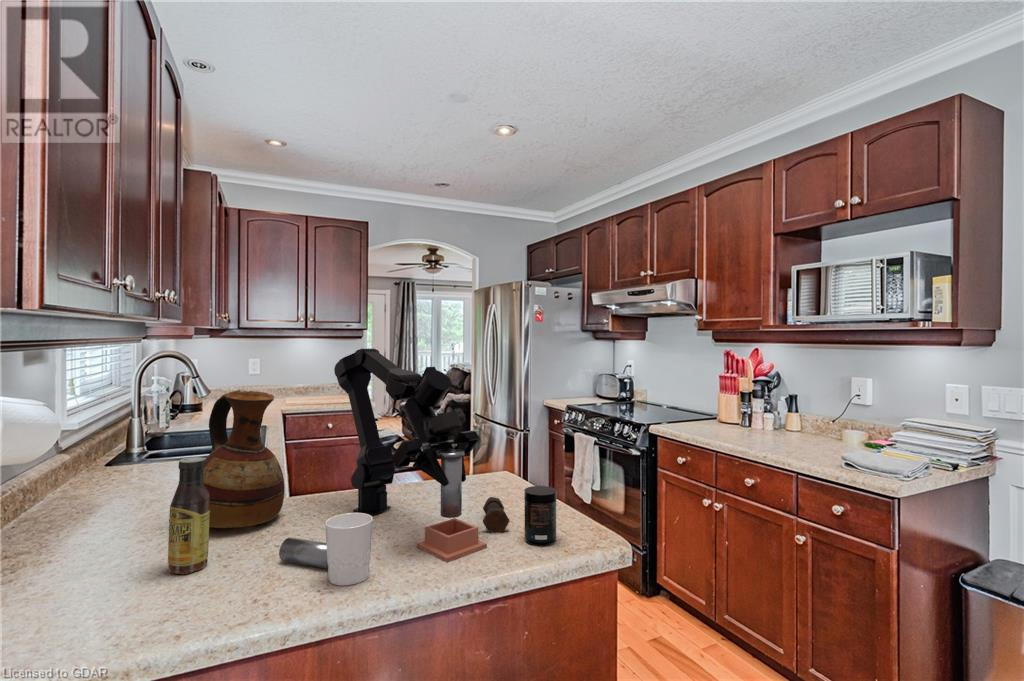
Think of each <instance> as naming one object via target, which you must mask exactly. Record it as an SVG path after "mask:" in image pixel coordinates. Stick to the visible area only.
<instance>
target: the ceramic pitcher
mask: <svg viewBox="0 0 1024 681" xmlns="http://www.w3.org/2000/svg"><path fill="white" fill-rule="evenodd" d="M274 400H275V396H274V395H273V394H270V393H267V392H264V391H253V390H248V391H247V390H242V391H241V390H234V391H230V392H227V393H224V394H222V395H221V396H220V397H219V398H217V400H216V401H215V402H214V404H213V406H212V409H211V413H210V415H209V420H208V431H209V438H210V441H211V442H210V443H211V453H209V455H208V456H206V458H204V459H205V466H204V468H203V479H204V481H203V483H204V486H205V488H206V489H207V490H208V492H209V494H210V502H209V508H210V519H209V528H219V529H234V528H246V527H251V526H252V527H253V526H256V525H259V524H263V523H264V524H265V523H267V522H270V521H271V520H273V519H274V518H275V517H277V515H279V514H280V512H281V510H282V508H283V504H284V498H285V479H284V473H283V469H282V467H281V464H280V462H279V459H278V458H277V456H276V455H275V454H274V453H273V452H272V451H271V450H270V449H269V448H267V447H266V446H265V445H264V444H263V442H262V437H261V428H262V424H263V419H264V418H263V417H264V414H265V411H266V409H267V408H268V406H269V405H271V403H272V402H274ZM231 409H232V416H233V419H232V420H233V423H232V429H231V431H230V435H229V436H228V433H227V425H228V423H227V421H228V417H229V413H230V410H231Z"/></svg>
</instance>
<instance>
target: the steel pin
mask: <svg viewBox="0 0 1024 681" xmlns="http://www.w3.org/2000/svg"><path fill="white" fill-rule="evenodd" d="M437 453H438V456H439V457H440V466H441V468H442V470H443V472H444V474H445V476H446V479H447V482H448V484H447V485H446V486H443V485H441V484H440V517H442V518H446V519H454V518H456V519H457V518H459V517H461V516H462V515H463V514H462V513H463V512H462V511H463V509H462V508H463V507H462V506H463V505H462V503H463V501H462V500H463V499H462V496H463V493H462V492H463V487H462V486H463V484H462V483H463V482H462V456H464V457H465V456H466V455H465V451H464V450H460V449H444V450H440V451H439V452H437Z"/></svg>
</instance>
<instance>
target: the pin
mask: <svg viewBox="0 0 1024 681" xmlns="http://www.w3.org/2000/svg"><path fill="white" fill-rule="evenodd" d="M278 556H279V559H280V561H282V562H288V563H292V564H297V565H303V566H308V567H314V568H321V569H325V568H326V569H327V570H328V562H327V548H326V542H321V541H315V540H308V539H303V538H296V537H287V538H285V540H283V542H282V543H281V545H280V548H279V552H278Z"/></svg>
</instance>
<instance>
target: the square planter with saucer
mask: <svg viewBox="0 0 1024 681" xmlns="http://www.w3.org/2000/svg"><path fill="white" fill-rule="evenodd" d="M487 545H488V543H486V542H485V541H482V540H479V526H475V525H473V524H470V523H468V522H465V521H463V520H461V519H458V518H457V517H456V518H450V519H448V520H444V521H441V522H437V523H434V524H431V525H428V526H425V527H424V540H422V541H418V542H416V546H417V547H418V549H419V548H420V550H421V549H422V550H421V551H423V550H425V551H426V553H427V552H428V553H427V554H429V553H430V554H429V555H431V554H432V556H433V555H434V556H433V557H435V556H436V557H435V558H437V557H438V558H437V559H439V558H440V559H439V560H441V559H442V560H441V561H443V560H444V561H443V562H445V561H446V562H445V563H449V562H452V561H454V559H455V560H457V559H460V558H462V557H466V556H467V555H470V554H472V553H475V552H479V551H481V550H483V549H484V550H485V549H487V548H488V546H487ZM416 546H415V547H416ZM417 547H416V548H417ZM425 551H424V552H425ZM451 560H452V561H451Z"/></svg>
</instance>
